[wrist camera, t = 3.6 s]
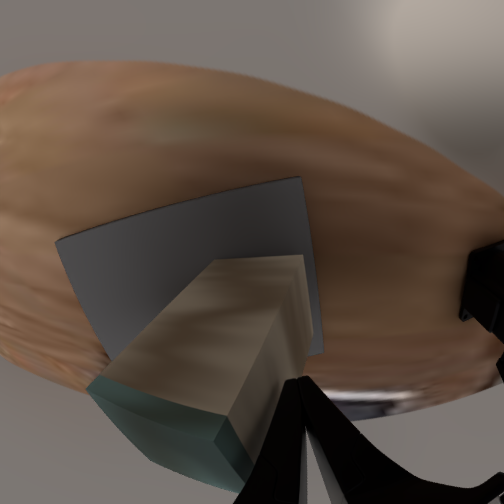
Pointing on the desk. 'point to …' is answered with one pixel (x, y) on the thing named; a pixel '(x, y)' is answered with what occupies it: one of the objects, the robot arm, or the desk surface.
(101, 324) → the mat
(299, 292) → the ash block
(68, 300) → the desk surface
